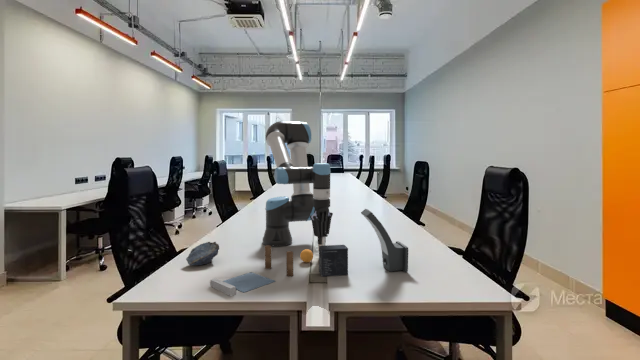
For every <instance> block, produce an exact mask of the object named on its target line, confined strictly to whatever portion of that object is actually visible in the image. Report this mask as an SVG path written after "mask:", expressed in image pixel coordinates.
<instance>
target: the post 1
mask: <svg viewBox="0 0 640 360" xmlns="http://www.w3.org/2000/svg"><path fill="white" fill-rule="evenodd" d="M264 269H266V270H271V269H272V246H270V245H265V246H264Z"/></svg>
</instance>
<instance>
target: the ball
mask: <svg viewBox="0 0 640 360" xmlns="http://www.w3.org/2000/svg"><path fill="white" fill-rule="evenodd" d="M299 256H300V260H301V261H302V262H304V263H310V262H312V260H313V259H314V252H313V251H312V250H311V249H308V248H306V249H303V250H302V251H301V252H300V255H299Z"/></svg>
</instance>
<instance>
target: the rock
mask: <svg viewBox="0 0 640 360" xmlns="http://www.w3.org/2000/svg"><path fill="white" fill-rule="evenodd" d="M219 245H220V244H219V243H217V241H213V242H211V241H206V242H203V243H200V244H199V245H197V246H195V247H194V248H192V249H191V250H190V253H189V254H188V256H187V257H186V258H185V260H186V263H187V264H188V265H189V266H203V265H209V264H210V263H211V262H212V260H213V259H214V258H215V257H216V256H217V255H218V254H219V250H220V246H219Z"/></svg>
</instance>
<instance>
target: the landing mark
mask: <svg viewBox="0 0 640 360" xmlns="http://www.w3.org/2000/svg"><path fill="white" fill-rule="evenodd" d="M222 281H223V282H226V283H228V284H230V285H233V286H235V287H236V291H239V292H242V293H247V292H249V291H252V290H255V289H257V288H260V287H263V286H266V285H269V284H272V283H274V282H276V280H274V279H271V278H269V277H267V276H263V275H260V274H258V273H254V272H252V271H251V272H247V273H244V274H240V275H237V276H235V277H230V278H228V279H225V280H222Z"/></svg>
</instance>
